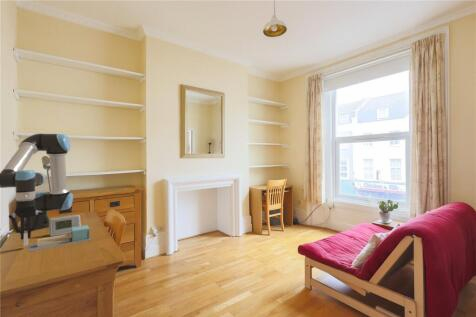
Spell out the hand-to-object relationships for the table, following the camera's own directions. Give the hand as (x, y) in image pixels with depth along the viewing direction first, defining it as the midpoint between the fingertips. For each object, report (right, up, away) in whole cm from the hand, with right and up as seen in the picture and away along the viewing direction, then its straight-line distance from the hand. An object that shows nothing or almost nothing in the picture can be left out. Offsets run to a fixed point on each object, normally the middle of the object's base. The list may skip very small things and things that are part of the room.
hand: (25, 245), depth 122 cm
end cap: (+18, -2, +15) cm, 24 cm away
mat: (+12, -2, +8) cm, 15 cm away
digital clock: (+2, -3, +25) cm, 25 cm away
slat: (+9, -2, +7) cm, 12 cm away
